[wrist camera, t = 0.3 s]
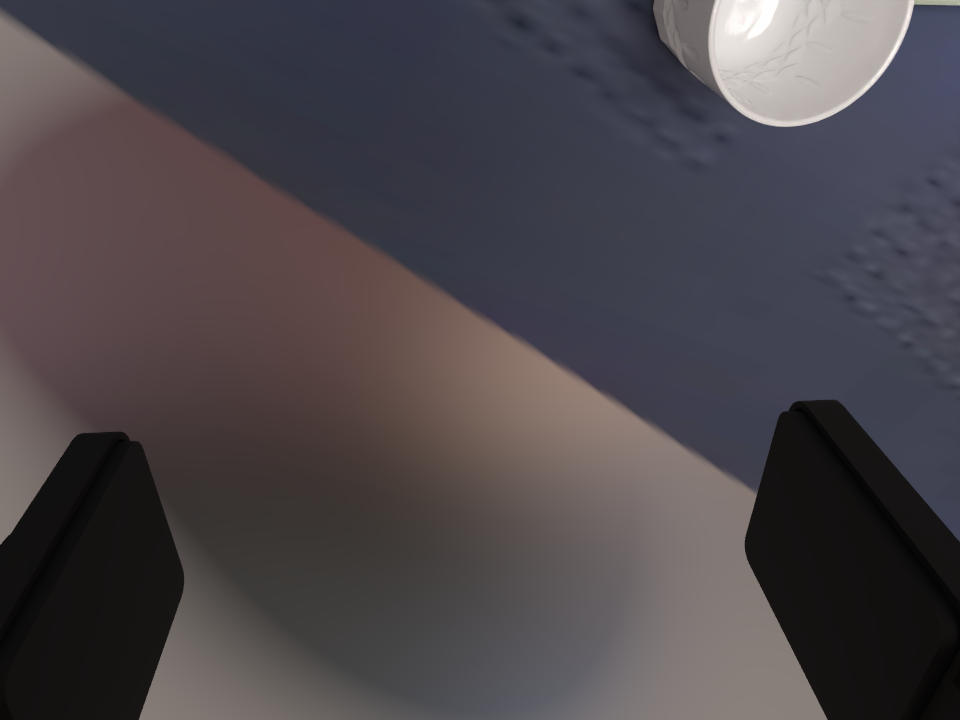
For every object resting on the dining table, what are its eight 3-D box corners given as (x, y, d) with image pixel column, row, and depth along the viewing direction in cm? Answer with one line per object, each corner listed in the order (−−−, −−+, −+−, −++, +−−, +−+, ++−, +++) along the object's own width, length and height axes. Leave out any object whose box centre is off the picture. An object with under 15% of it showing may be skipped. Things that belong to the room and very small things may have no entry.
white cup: (772, 82, 38) (873, 131, 29) (628, 75, 37) (689, 123, 29) (818, -93, 34) (951, -94, 25) (656, -105, 33) (738, -110, 25)
